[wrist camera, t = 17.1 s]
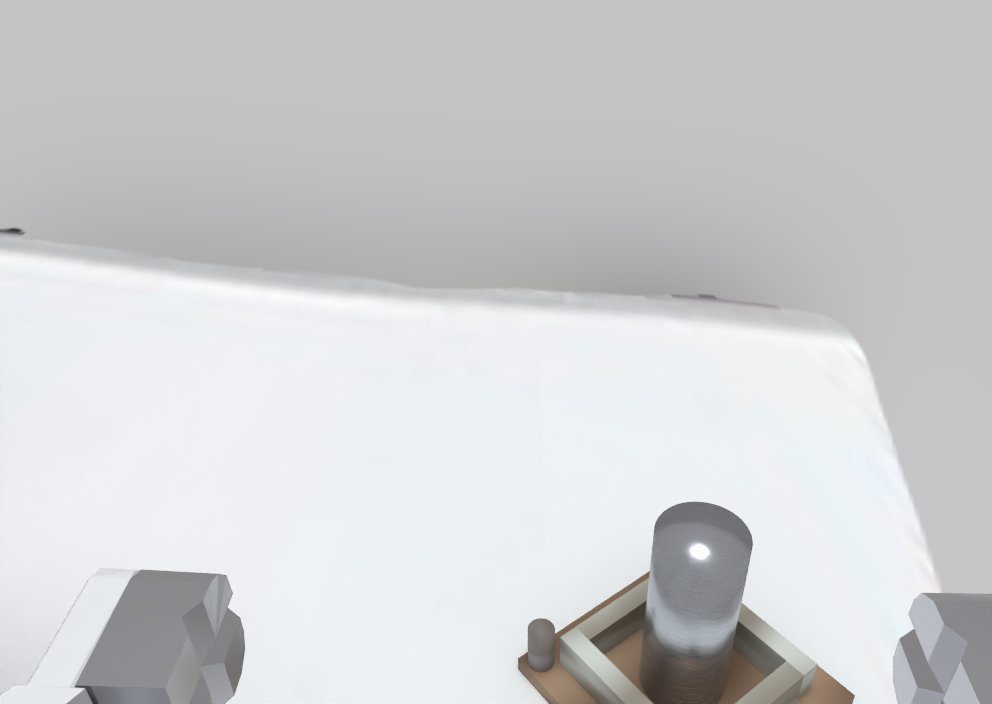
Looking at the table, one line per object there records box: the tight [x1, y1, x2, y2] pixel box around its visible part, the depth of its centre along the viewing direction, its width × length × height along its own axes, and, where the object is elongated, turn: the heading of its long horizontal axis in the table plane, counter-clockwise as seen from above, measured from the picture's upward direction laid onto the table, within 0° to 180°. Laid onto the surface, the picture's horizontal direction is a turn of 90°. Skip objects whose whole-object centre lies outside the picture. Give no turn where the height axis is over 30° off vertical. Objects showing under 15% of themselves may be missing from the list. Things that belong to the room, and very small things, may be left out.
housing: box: [518, 571, 855, 704], centre depth 51 cm, size 14×14×4 cm
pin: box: [639, 502, 753, 704], centre depth 48 cm, size 5×5×12 cm
